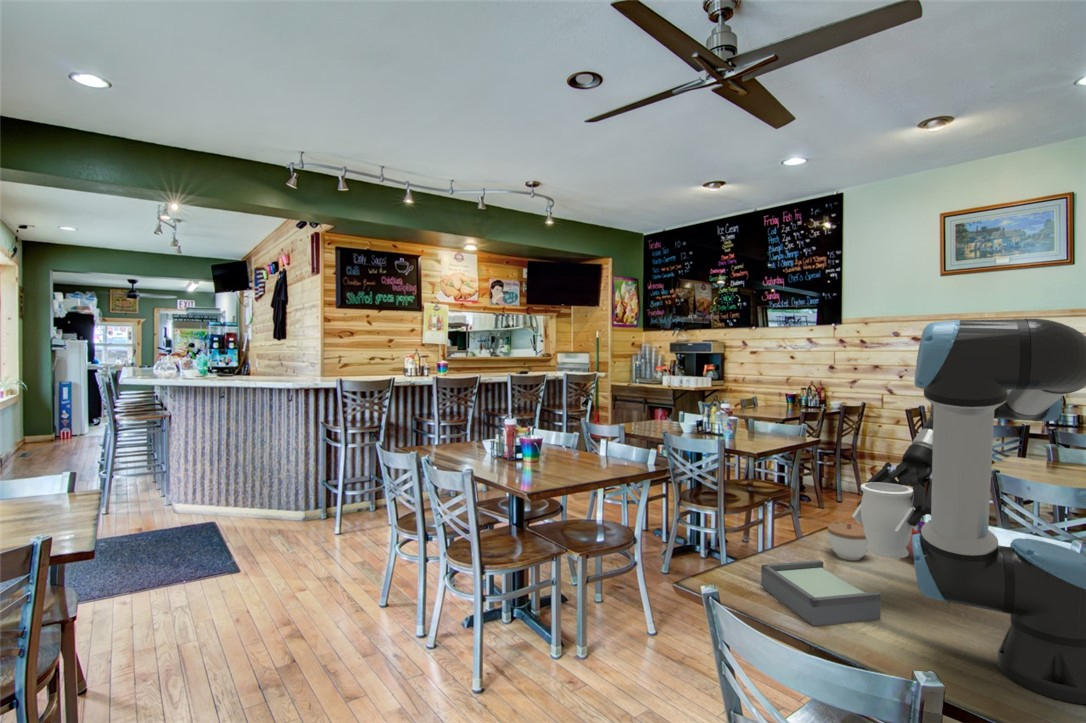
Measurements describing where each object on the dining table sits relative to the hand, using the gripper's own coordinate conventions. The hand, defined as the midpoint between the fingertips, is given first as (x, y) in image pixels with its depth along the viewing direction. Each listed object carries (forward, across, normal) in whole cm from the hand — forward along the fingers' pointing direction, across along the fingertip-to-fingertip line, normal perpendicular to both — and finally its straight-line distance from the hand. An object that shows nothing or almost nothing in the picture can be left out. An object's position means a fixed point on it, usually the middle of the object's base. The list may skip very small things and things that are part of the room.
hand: (876, 527), depth 130 cm
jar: (+2, 0, -7) cm, 7 cm away
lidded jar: (0, +25, -26) cm, 36 cm away
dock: (+21, +6, -4) cm, 22 cm away
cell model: (-13, +15, -39) cm, 44 cm away
